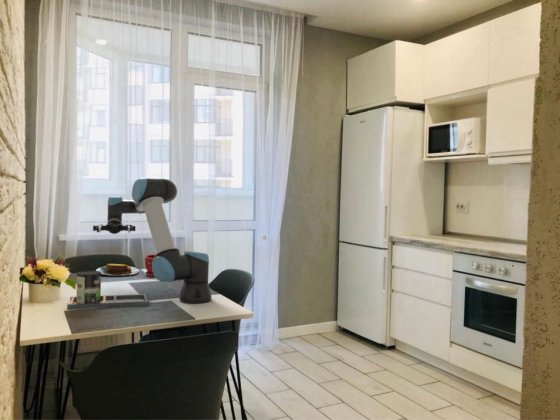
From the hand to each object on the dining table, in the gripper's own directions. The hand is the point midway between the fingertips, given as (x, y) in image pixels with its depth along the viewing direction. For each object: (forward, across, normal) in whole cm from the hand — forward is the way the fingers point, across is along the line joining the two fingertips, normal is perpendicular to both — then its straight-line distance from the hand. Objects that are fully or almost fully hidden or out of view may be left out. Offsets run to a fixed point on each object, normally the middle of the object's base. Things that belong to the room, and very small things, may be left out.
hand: (114, 229), depth 232 cm
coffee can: (+18, +10, -32) cm, 38 cm away
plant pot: (-49, -24, -32) cm, 64 cm away
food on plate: (-59, -2, -33) cm, 68 cm away
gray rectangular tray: (+19, +2, -32) cm, 37 cm away
